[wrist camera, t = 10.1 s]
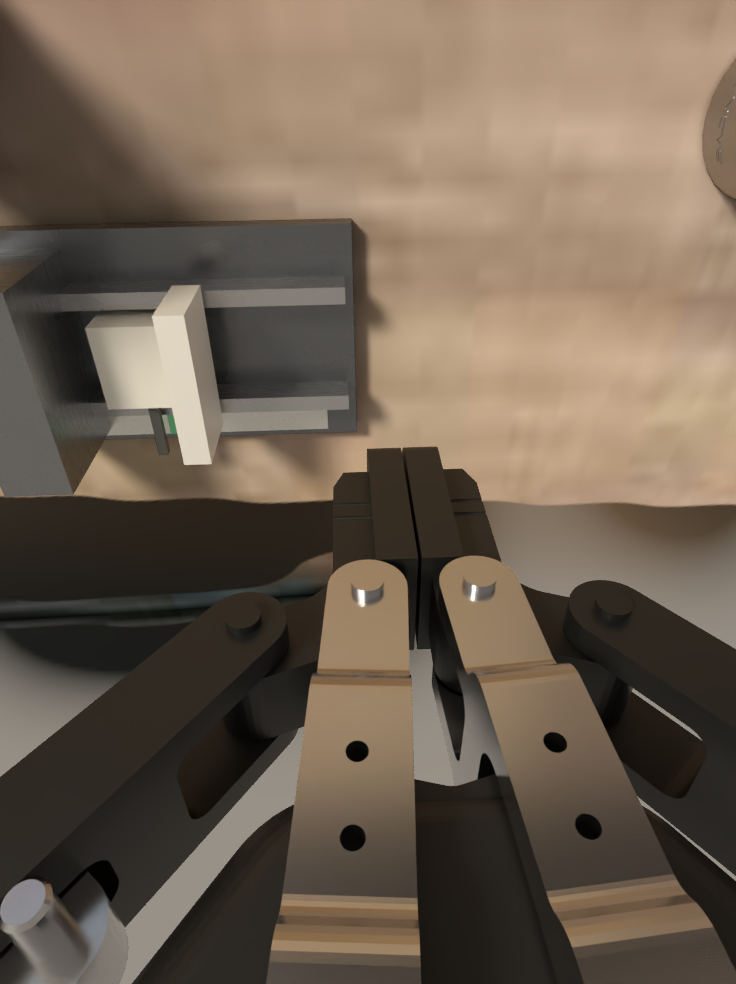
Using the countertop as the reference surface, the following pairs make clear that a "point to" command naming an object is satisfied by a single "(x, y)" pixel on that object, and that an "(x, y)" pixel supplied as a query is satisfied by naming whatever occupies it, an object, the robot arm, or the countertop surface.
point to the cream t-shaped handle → (162, 369)
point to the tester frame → (142, 285)
